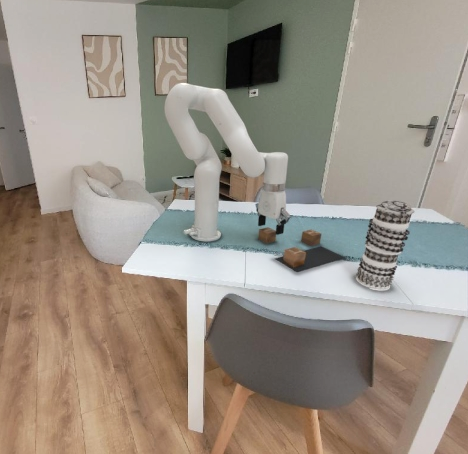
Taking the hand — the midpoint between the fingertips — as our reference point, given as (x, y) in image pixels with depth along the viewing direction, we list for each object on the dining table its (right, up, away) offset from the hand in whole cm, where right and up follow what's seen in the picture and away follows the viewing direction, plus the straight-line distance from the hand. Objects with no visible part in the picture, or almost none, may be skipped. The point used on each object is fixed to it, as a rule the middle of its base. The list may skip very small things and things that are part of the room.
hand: (270, 229), depth 113 cm
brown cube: (-1, -5, +2) cm, 5 cm away
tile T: (+15, -5, -1) cm, 16 cm away
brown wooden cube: (+2, -11, -15) cm, 19 cm away
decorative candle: (+20, -16, -26) cm, 37 cm away
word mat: (+9, -10, -12) cm, 18 cm away
